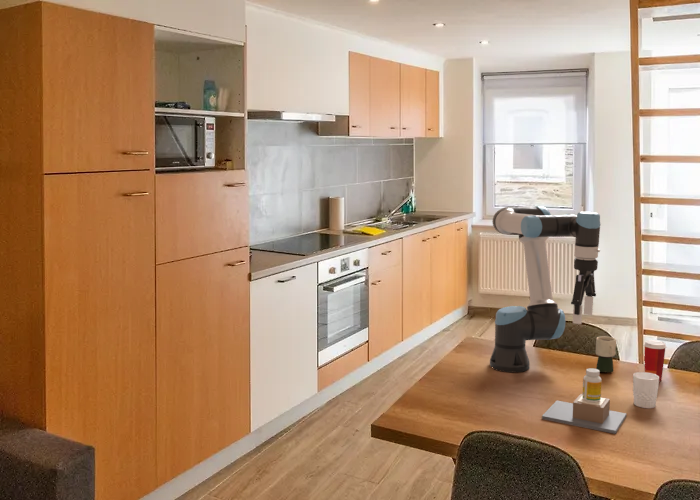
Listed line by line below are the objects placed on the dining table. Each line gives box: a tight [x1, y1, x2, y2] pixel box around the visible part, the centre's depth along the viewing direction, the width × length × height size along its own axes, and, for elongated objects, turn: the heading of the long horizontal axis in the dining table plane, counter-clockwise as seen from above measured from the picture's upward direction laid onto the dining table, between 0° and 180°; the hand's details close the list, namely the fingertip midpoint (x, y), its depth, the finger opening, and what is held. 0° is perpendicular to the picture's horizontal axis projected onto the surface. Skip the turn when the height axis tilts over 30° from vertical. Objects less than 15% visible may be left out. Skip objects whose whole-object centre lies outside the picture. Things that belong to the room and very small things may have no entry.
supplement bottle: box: [582, 367, 603, 402], centre depth 212 cm, size 5×5×10 cm
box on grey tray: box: [541, 393, 627, 434], centre depth 214 cm, size 22×16×6 cm
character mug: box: [595, 335, 617, 374], centre depth 258 cm, size 11×7×13 cm, turn 6°
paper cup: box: [643, 339, 667, 382], centre depth 249 cm, size 8×8×14 cm
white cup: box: [632, 371, 660, 409], centre depth 224 cm, size 8×8×10 cm
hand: (582, 319), depth 233 cm, fingers open, 13 cm apart
